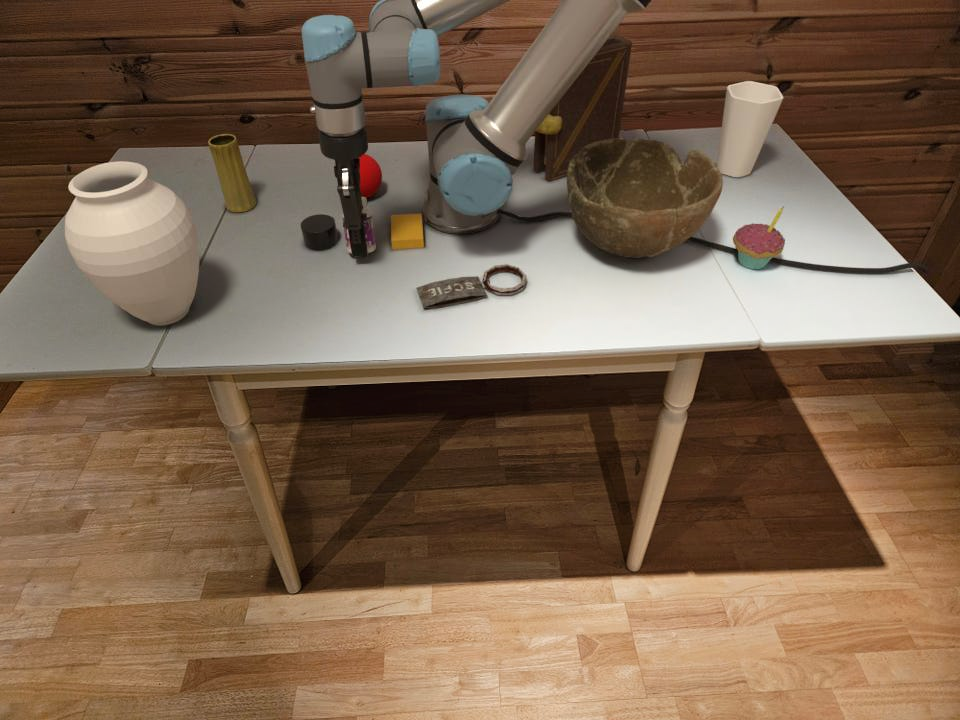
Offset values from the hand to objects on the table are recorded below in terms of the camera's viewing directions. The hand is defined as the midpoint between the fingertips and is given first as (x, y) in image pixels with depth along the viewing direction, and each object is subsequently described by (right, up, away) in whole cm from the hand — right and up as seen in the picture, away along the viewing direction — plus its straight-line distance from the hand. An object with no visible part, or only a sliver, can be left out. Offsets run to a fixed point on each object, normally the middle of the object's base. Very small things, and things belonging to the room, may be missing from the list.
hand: (359, 253), depth 118 cm
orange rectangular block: (+8, +5, +8) cm, 12 cm away
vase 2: (-28, +13, +17) cm, 35 cm away
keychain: (+21, -7, -4) cm, 22 cm away
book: (+42, +24, +28) cm, 56 cm away
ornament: (-3, +15, +20) cm, 25 cm away
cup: (+78, +23, +26) cm, 85 cm away
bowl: (+50, +3, +6) cm, 51 cm away
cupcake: (+71, -2, +1) cm, 71 cm away
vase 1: (-31, -11, -8) cm, 34 cm away
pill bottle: (0, +1, +3) cm, 3 cm away
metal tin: (-9, +4, +7) cm, 12 cm away
